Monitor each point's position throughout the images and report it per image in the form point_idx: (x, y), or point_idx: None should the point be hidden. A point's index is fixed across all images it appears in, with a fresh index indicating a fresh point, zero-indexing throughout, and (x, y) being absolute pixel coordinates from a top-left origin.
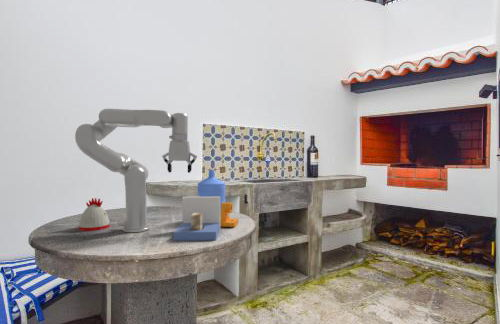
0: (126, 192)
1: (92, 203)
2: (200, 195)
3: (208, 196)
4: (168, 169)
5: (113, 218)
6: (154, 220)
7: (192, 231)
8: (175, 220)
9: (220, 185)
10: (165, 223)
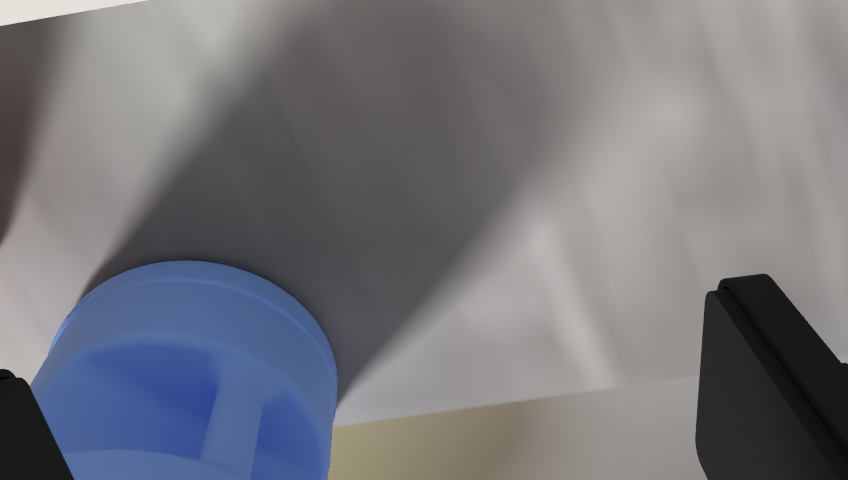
0: None
1: None
2: (225, 475)
3: (90, 451)
4: (809, 327)
5: None
6: (754, 263)
7: None
8: (545, 293)
9: None
10: (601, 158)
